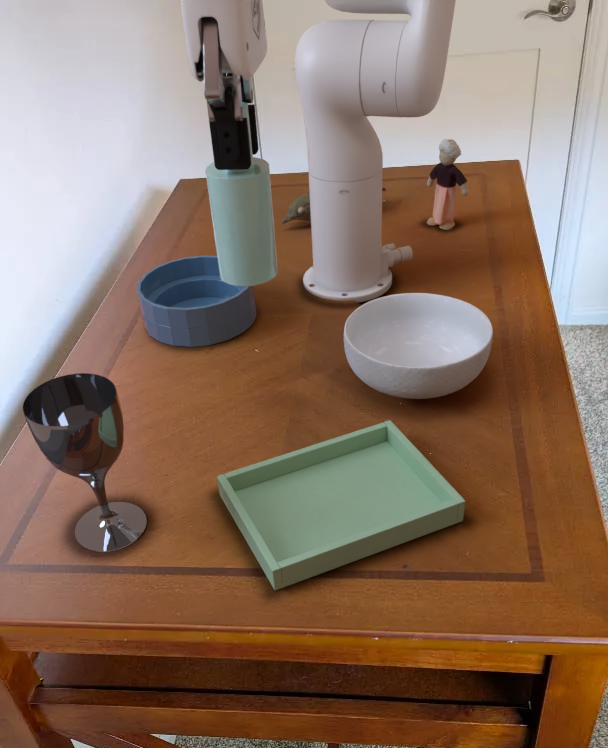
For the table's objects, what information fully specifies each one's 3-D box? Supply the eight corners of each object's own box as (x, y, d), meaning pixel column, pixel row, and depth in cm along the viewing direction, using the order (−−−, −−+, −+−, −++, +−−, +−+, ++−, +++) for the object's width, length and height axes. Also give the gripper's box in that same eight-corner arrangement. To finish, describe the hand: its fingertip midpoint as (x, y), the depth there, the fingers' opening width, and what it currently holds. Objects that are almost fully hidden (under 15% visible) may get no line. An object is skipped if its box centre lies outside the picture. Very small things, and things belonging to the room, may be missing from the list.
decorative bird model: (275, 226, 125) (273, 195, 122) (381, 198, 131) (381, 168, 128) (289, 237, 122) (287, 205, 118) (397, 208, 128) (398, 177, 124)
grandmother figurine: (416, 225, 122) (420, 139, 114) (427, 216, 125) (432, 131, 116) (460, 234, 119) (467, 147, 110) (471, 225, 121) (479, 139, 112)
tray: (389, 439, 83) (390, 419, 81) (463, 521, 74) (465, 500, 72) (219, 495, 78) (216, 475, 76) (274, 591, 69) (272, 571, 67)
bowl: (234, 287, 111) (228, 246, 107) (273, 333, 101) (269, 290, 97) (133, 313, 107) (124, 272, 103) (164, 363, 97) (155, 320, 93)
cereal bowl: (470, 433, 83) (477, 376, 78) (325, 409, 88) (322, 354, 83) (498, 352, 94) (505, 299, 89) (368, 335, 99) (368, 283, 94)
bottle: (265, 256, 79) (250, 92, 69) (286, 278, 75) (274, 108, 65) (212, 268, 78) (188, 103, 67) (230, 291, 74) (208, 120, 63)
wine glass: (75, 503, 79) (31, 377, 68) (153, 496, 79) (120, 369, 68) (65, 559, 73) (14, 431, 62) (148, 550, 73) (112, 421, 63)
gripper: (238, -96, 50) (264, 194, 63) (275, -117, 62) (290, 131, 75) (128, -89, 51) (175, 195, 64) (185, -112, 63) (215, 133, 76)
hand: (237, 159), depth 69 cm, fingers closed on bottle, 3 cm apart
